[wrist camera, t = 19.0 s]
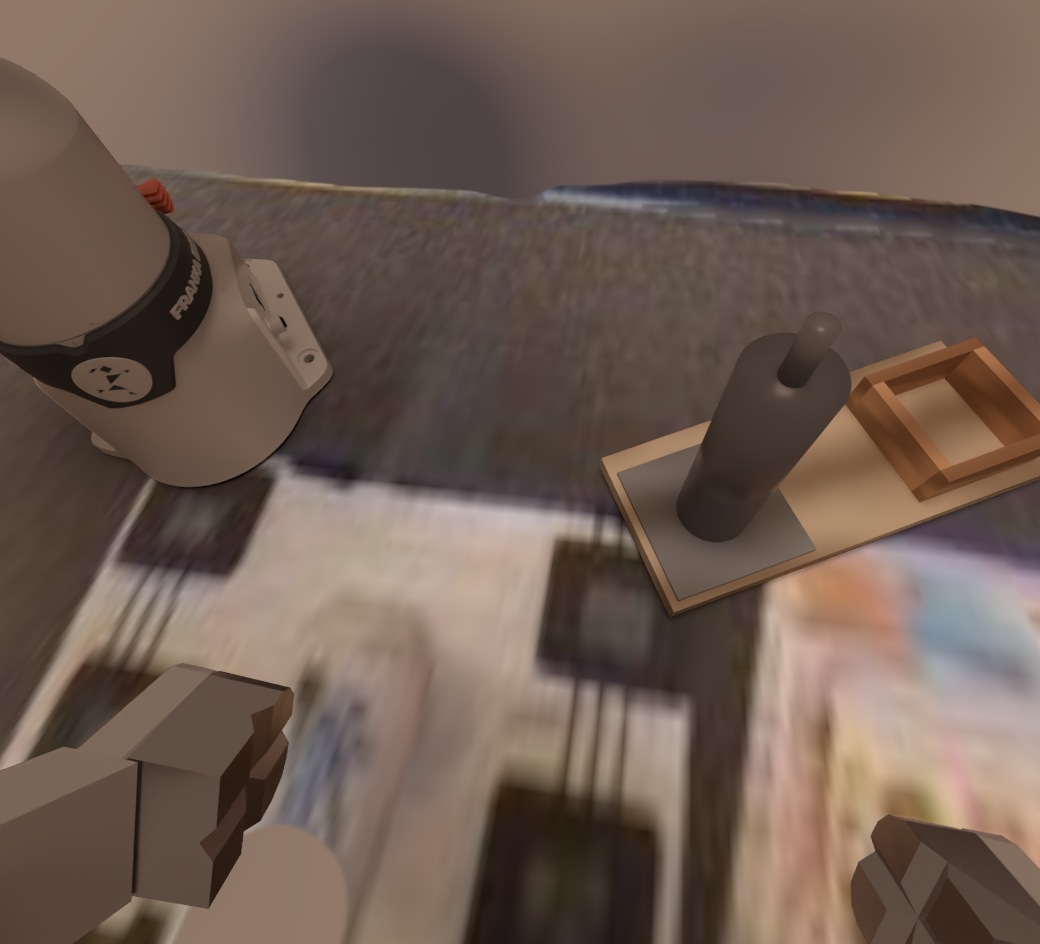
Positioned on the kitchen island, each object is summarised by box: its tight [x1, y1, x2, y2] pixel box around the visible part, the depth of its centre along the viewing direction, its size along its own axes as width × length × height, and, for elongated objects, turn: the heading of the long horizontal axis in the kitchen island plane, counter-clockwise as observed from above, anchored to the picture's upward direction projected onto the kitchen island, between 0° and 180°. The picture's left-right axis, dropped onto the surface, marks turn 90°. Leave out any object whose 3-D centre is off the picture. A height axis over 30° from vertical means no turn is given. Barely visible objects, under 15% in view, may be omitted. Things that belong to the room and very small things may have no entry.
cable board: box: [600, 337, 1040, 617], centre depth 35 cm, size 11×26×4 cm, turn 109°
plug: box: [676, 312, 851, 542], centre depth 27 cm, size 4×4×17 cm
